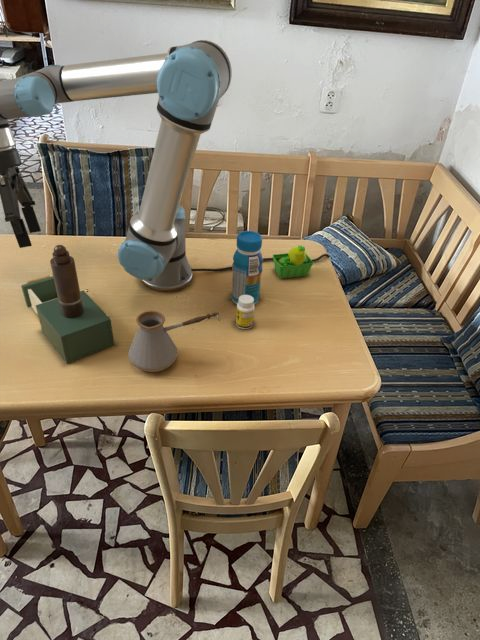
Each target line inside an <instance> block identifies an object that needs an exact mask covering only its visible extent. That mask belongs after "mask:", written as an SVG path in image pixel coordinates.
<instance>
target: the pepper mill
mask: <svg viewBox="0 0 480 640" xmlns="http://www.w3.org/2000/svg"><path fill="white" fill-rule="evenodd" d="M49 263H50V268H51V273H52V276H53V277H54V282H55V287H56V291H57V296H58V301H59V305H60V309H61V314H62V315H63V316H64V317H66V318H76V317H79V316H81V315H82V314H83V312H84V310H83V305H82V299H81V294H80V291H81V290H80V284H79V279H78V271H77V267H76V262H75V258H74V257H73V256H72V255H70V251H69V250H67V247H66V246H64V245H63V244H57V245H55V246H54V248H53V251H52V258H51V259H50V260H49Z"/></svg>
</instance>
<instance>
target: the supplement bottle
mask: <svg viewBox="0 0 480 640" xmlns="http://www.w3.org/2000/svg"><path fill="white" fill-rule="evenodd" d="M255 310H256V309H255V304H254V298H253V297H252V296H250V295H241V296H240V297H239V300H238V304H236V312H235V313H236V314H235V325H236V327H237V328H238V329H242V330H249V329H251V328H252V327H253V326H254V320H255V319H254V318H255Z"/></svg>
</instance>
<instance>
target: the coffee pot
mask: <svg viewBox="0 0 480 640" xmlns="http://www.w3.org/2000/svg"><path fill="white" fill-rule="evenodd" d="M214 317H216V318H217V320H218V321H219V322H220V321H221V315H220V313H219V312H217V311H216V312H212V313H211V314H210V313H207V314H206V315H199V316H196V317H193V318H190V319H188V320H185V321H182V322H180V323H177V324H172V325H169V326H164V324H165V322H166V317H165V315H164V314H163V313H162V312H160V311H157V310H146V311H143V312H141V313H139V314H138V315H137V316H136V318H135V322H136V324H137V326H139V327H138V329H137V331H136V333H135V335H134V338H133V340H132V342H131V344H130V347H129V350H128V353H127V354H128V359H129V361H130V363H131V364H132V365H133V366H134V367H135V368H137V369H139V370H140V371H144V372H147V373H158V372H161V371H163V370H166V369H167V368H169V367H171V365H173V364H174V362H175V361H176V359H177V357H178V353H179V352H178V347H177V346H176V344H175V343H174V341H173V339H172V337H171V336H170V334H169V333H168V332H170V331H171V330H174V329H178V328H181V327H185V326H188V325H189V326H190V325H194V324H197V323H201V322H203V321H205V320H210V319H211V318H214Z"/></svg>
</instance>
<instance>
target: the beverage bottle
mask: <svg viewBox="0 0 480 640" xmlns="http://www.w3.org/2000/svg"><path fill="white" fill-rule="evenodd" d="M262 246H263V236H262V234H260V233H259V232H257V231H254V230H244V231H243V230H242V231H240V232H239V233H238V234H237V236H236V250H235V251H234V254H233V256H232V260H233V261H232V264H231V266H232V269H231V271H232V278H231V279H232V281H231V292H230V298H231V301H232V302H233V303H234V304H236V305H237V304H238V300H239V297H240V296H241V295H250V296H252V297H253V298H254V305H256V304H257V303H258V302H259V300H260V289H261V280H262V274H263V269H264V267H263V262H264V261H263V258H264V257H263V253H262V252H261V249H262Z"/></svg>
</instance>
